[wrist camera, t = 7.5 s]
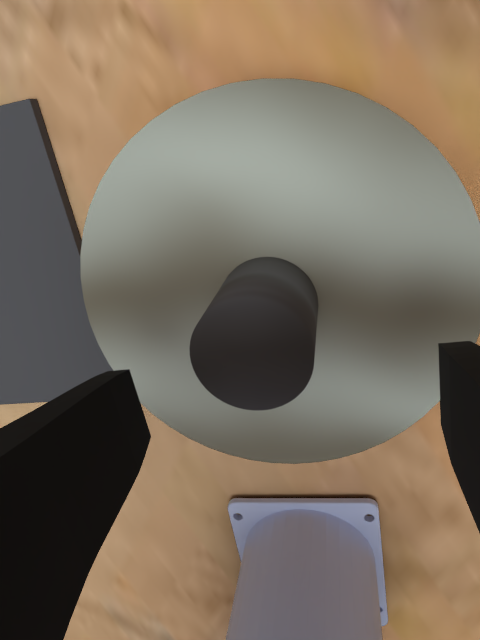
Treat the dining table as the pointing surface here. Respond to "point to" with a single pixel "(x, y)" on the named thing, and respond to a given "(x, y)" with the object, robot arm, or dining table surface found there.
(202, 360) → the lid
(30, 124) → the mat
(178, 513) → the dining table surface
